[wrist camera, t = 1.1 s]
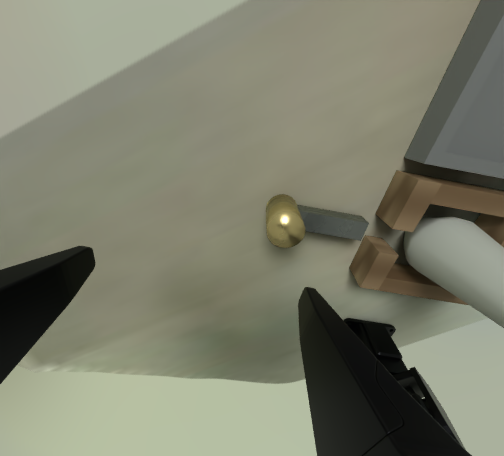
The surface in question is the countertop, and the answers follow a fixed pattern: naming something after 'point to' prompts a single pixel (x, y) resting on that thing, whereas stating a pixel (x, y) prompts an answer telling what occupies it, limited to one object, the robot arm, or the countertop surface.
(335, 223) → the key
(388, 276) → the socket block
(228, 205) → the countertop surface
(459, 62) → the tray
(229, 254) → the countertop surface
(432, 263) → the salt shaker
